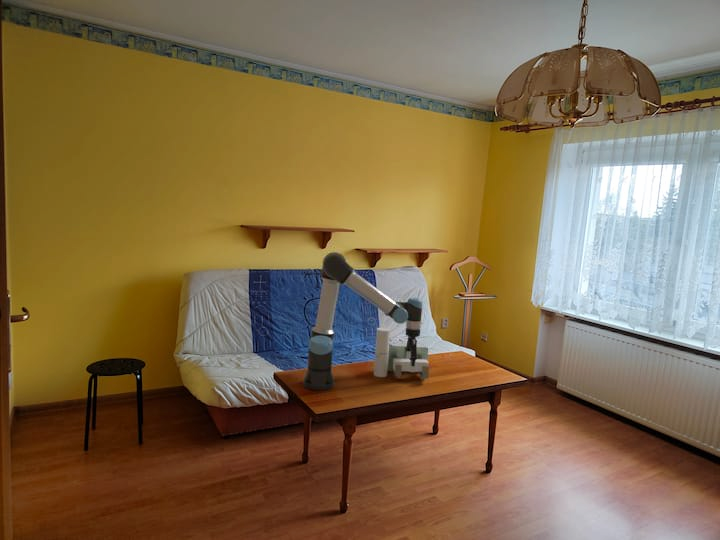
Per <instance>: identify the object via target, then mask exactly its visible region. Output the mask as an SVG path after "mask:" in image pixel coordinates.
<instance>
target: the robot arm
mask: <svg viewBox="0 0 720 540" xmlns="http://www.w3.org/2000/svg"><path fill="white" fill-rule="evenodd" d="M320 278H321V280H322V285H321V291H320V297H319V298H320V299H319V304H318V310H317V316H316V321H315V326H314V327H312V328H311V333H310V339H309V341H308V354H307V355H308V356H307V358H308V359H307V369H306V370H307V371H306V373H305V375H304V377H303V381H302V383H303V386H304V388H305V389H308V390H312V391H328V390H331V389H333V388H334V387H335V378H334V375H333V372H332V366H333V365H332V364H333V349H334V337H335V331H334V330H333V324H334V321H335V320H334V319H335V314H336V313H335V312H336V308H337V301H338V296H339V290H340V285H342V286H344V285H345V286H347V287H348V288H349V289H350V290H352V291H354V292H355V293H357V294H358V295H359V296H360V297H362V298H364V300H366V301H367V302H369V303H370V304H372V305H373V306H374V307H376V308H378V310H380V311H381V312H383V313H384V315H385V316H387V317H390V319H392V320H393V321H394V322H395V323H397V324H401V325H402V324H405V336H406V337H407V342H406V349H407V354H406V359H409V360H410V369H409V372H408V373H416V372H415V363H416V360H417V347H418V346H417V344H418V343H417V342H418V340H417V338H418V337H420V336H421V326H422V325H423V322H422V313H423V300H422V299H421V298H418V297H417V298H414V297H411V298H408V299H407V301H395V300H393V299H392V298H391V297H390V296H388V295H387V294H385V293H384V292H383V291H381V290H380V289H378V287H376V286H374V285H373V284H372V283H370V282H369V281H368V280H366V278H364V277H362V276H361V275H359V273H357V272H355V269H354V268H353V267H352V266H351V265H350V264H349V263H348V262H347V261H346V258H345V256H344V255H343V254H341V253H340V252H334V251H333V252H330V253H326V255H325V256H324V258H323V260H322V268H321V275H320Z"/></svg>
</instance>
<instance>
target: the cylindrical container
mask: <svg viewBox="0 0 720 540" xmlns="http://www.w3.org/2000/svg"><path fill="white" fill-rule="evenodd" d="M375 336H376V337H375V348H374V349H375V350H374V351H375V352H374V365H373V366H374V367H373V376H374V377H376V378H377V377H378V378H385V377H387V376H388V371H387V369H388V355H389V346H390V339H391V337H390V336H391V329H390V328H387V327H377V328H376V335H375Z"/></svg>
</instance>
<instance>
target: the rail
mask: <svg viewBox="0 0 720 540" xmlns="http://www.w3.org/2000/svg"><path fill="white" fill-rule="evenodd" d="M395 365H402V368H401V371H409V369H410V360H409V359H394V358H393V369H394V371H395ZM429 365H430V362H429V360H428V359H427V360H424V359H417V360H416V363H415V371H418V372H417V373H419V372H422V366H428V367H429V368H430V366H429Z"/></svg>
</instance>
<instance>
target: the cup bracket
mask: <svg viewBox="0 0 720 540" xmlns="http://www.w3.org/2000/svg"><path fill="white" fill-rule="evenodd" d="M406 346H407V345H406ZM406 346H405V345H389V355H388V369H387V372H393V375H394V376H393V378H394V379H395V380H398V379H399V378H401V377H402V372H403V373H405V372H406V373H410V372H409V371H401V368H402V365H395V371H394V369H393V358H394V359H406V354H407V349H406ZM428 356H429V347H426V346H424V347H423V346H417V359H424V360H427V361H428ZM429 369H430V366H429V367H428V366H422V372H418V371H415V372H414V373H419V375H420V376H419V378H420V381H425V379H429Z"/></svg>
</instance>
